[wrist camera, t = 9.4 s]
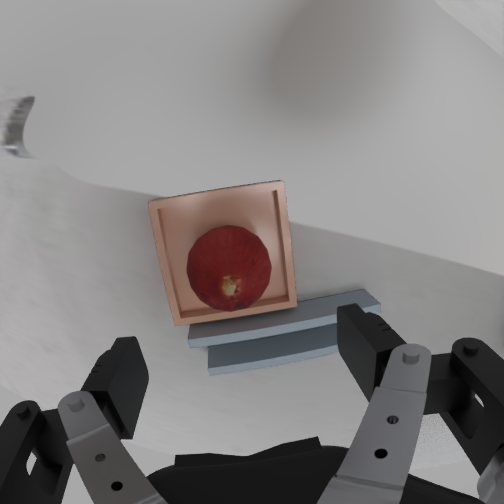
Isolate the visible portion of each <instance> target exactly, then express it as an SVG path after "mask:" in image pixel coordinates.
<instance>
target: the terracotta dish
mask: <svg viewBox="0 0 504 504" xmlns="http://www.w3.org/2000/svg"><path fill="white" fill-rule="evenodd" d="M148 206H149V212H150V217H151V222H152V227H153V233H154V238H155V242H156V247H157V252H158V257H159V261H160V266H161V270H162V275H163V279H164V283H165V288H166V292H167V296H168V300H169V304H170V308H171V312H172V316H173V320H174V323H175V326H178V325H186V324H193V323H200V322H207V321H214V320H221V319H227V318H234V317H240V316H246V315H252V314H258V313H264V312H270V311H275V310H281V309H287V308H292V307H297V297H296V286H295V276H294V265H293V256H292V246H291V237H290V227H289V219H288V210H287V201H286V193H285V186H284V181H281V180H277V181H269V182H261V183H254V184H248V185H240V186H233V187H227V188H220V189H215V190H208V191H202V192H196V193H190V194H184V195H178V196H173V197H167V198H162V199H156V200H152V201H150V202H148ZM225 225H232V226H239V227H244V228H245V229H247V230H249V231H250V232H252V233H254V234H255V235H257V236H259V238H260V239H261V241H262V242H263V244H264V245H265V247H266V248H267V250H268V254H269V258H270V261H271V265H272V270H271V276H270V282H269V285H268V286H267V288H266V290H265V291H264V293H263V295H262V296H261V298H259V299H258V300H257V301H256V302H255V303H253V304H252V305H251V306H250V307H248V308H246V309H242V310H237V311H233V312H227V311H221V310H215V309H213V308H211V307H209V306H208V305H206V304H205V303H203V302H202V301H200V300H199V298H198V297H197V296H196V294H195V293H194V291H193V290H192V289H191V287H190V283H189V280H188V276H187V273H186V268H187V260H188V253H189V251H190V249H191V248H192V246H193V245H194V243H195V242H196V240H197V239H198V238H199V237H201V236H202V235H204V234H205V233H207V232H208V231H210V230H211V229H213V228H217V227H221V226H225Z"/></svg>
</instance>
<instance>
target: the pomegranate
mask: <svg viewBox="0 0 504 504" xmlns="http://www.w3.org/2000/svg"><path fill="white" fill-rule="evenodd" d="M271 270H272V265H271V261H270V258H269V254H268V250H267V248H266V247H265V245H264V244H263V242H262V241H261V239H260V238H259V236H257V235H255V234H254V233H252V232H250V231H249V230H247V229H245V228H244V227H239V226H232V225H225V226H221V227H217V228H213V229H211V230H210V231H208V232H207V233H205V234H204V235H202V236H201V237H199V238H198V239H197V240H196V242H195V243H194V245H193V246H192V248H191V249H190V251H189V253H188V260H187V268H186V273H187V276H188V280H189V283H190V287H191V289H192V290H193V291H194V293H195V294H196V296H197V297H198V298H199V300H200V301H202V302H203V303H205V304H206V305H208V306H209V307H211V308H213V309H215V310H221V311H227V312H233V311H237V310H242V309H246V308H248V307H250V306H251V305H252V304H253V303H255V302H256V301H257V300H258V299H259V298H261V296H262V295H263V293H264V291H265V290H266V288H267V286H268V285H269V282H270V276H271Z"/></svg>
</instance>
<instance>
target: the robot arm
mask: <svg viewBox="0 0 504 504" xmlns="http://www.w3.org/2000/svg"><path fill="white" fill-rule="evenodd" d="M337 345H338V350H339V353H340V355H341V357H342V358H343V360H344V362H345V363H346V365H347V367H348V368H349V370H350V372H351V373H352V375H353V377H354V378H355V380H356V382H357V383H358V385H359V387H360V388H361V390H362V392H363V393H364V395H365V397H366V398H367V400H368V402H369V405H368V408H367V410H366V412H365V415H364V417H363V419H362V422H361V424H360V426H359V429H358V431H357V433H356V435H355V437H354V440H353V442H352V444H351V446H350V448H345V447H339V446H321V444H320V441H319V438H318V436H317V437H313V438H308V439H304V440H299V441H294V442H288V443H283V444H280V445H278V446H275V447H272V448H270V449H267V450H264V451H261V452H258V453H255V454H252V455H249V456H234V455H223V454H213V453H204V454H187V455H175V464H174V465H172V466H168V467H165V468H162V469H160V470H158V471H156V472H154V473H152V474H150V475H148V476H147V477H145V475H144V474H143V473H142V471H141V470H140V469H139V467H138V466H137V464H136V463H135V462H134V460H133V459H132V457H131V456H130V454H129V453H128V452H127V450H126V449H125V447H124V446H123V444H122V443H121V441H120V440H121V439H133V435H134V431H135V427H136V424H137V420H138V417H139V413H140V410H141V406H142V403H143V399H144V396H145V392H146V389H147V385H148V381H149V375H148V369H147V366H146V363H145V360H144V358H143V355H142V352H141V349H140V346H139V343H138V340H137V338H136V337H135V336H132V337H120V338H117V339H116V340H115V342H114V344H113V346H112V347H111V349H110V350H107V351H106V352H105V353H103V354H102V355H101V356H100V357H99V358H98V360H97V362H96V363H95V367H93V369H92V370H91V373H90V374H89V376H88V377H87V379H86V381H85V383H84V385H83V387H82V388H81V390H80V391H76V392H72V393H70V394H68V395H66V396H65V397H63V398H62V399H61V400H60V402H59V404H58V408H57V409H52V410H47V411H41V409H40V407H39V406H38V404H37V403H36V402H35V401H31V400H27V401H23V402H20V403H18V404H16V405H15V406H14V407H13V408H12V409H11V410H10V411H9V413H8V415H7V416H6V418H5V420H4V421H3V423H2V424H1V426H0V504H61V503H62V499H63V495H64V492H65V489H66V485H67V482H68V479H69V475H70V472H71V469H72V466H73V464H75V465H76V467H77V470H78V472H79V474H80V476H81V478H82V481H83V483H84V485H85V487H86V489H87V491H88V493H89V495H90V497H91V499H92V501H93V503H94V504H504V360H503V359H502V358H501V357H500V356H499V355H498V354H497V353H496V352H494V351H493V350H492V349H491V348H490V347H489V346H488V345H486V344H485V343H484V342H483V341H481V340H479V339H475V338H462V339H459V340H457V341H456V342H454V344H453V346H452V351H451V353H446V354H437V355H431V353H430V351H429V350H428V349H427V348H426V347H424V346H421V345H418V344H407V343H406V342H405V341H404V340H403V339H402V338H401V337H400V336H399V335H398V334H397V333H396V332H395V331H394V330H393V329H391V327H390V326H389V325H388V324H386V322H385V321H384V320H383V319H382V318H381V317H380V316H378V315H376V314H374V313H372V312H367V313H365V312H364V311H363V310H362V308H361V307H360V306H359V305H358V304H357V303H352V304H348V305H343V306H338V307H337ZM475 394H477V395H478V397H479V398H480V399H481V400H482V402H483V405H484V407H483V406H482V405H481V404H480V403H479V402H478V400H477V399H476V398H475ZM435 413H439V414H440V416H441V417H442V419H443V420H444V422H445V423H446V424H447V426H448V427H449V429H450V430H451V432H452V433H453V435H454V436H455V438H456V439H457V441H458V442H459V444H460V445H461V447H462V448H463V450H464V452H465V453H466V455H467V456H468V458H469V459H470V461H471V462H472V464H473V466H474V467H475V469H476V470H477V472H478V473H479V475H480V478H479V480H478V483H477V491H478V494H479V499H477V498H475V497H472V496H470V495H466V494H464V493H460V492H457V491H454V490H451V489H448V488H445V487H443V486H440V485H437V484H434V483H432V482H429V481H426V480H424V479H421V478H418V477H416V476H413V475H411V474H409V473H408V472H409V469H410V465H411V462H412V458H413V455H414V451H415V447H416V443H417V439H418V435H419V431H420V426H421V422H422V417H423V415H428V414H435ZM31 451H32V453H33V454H34V455H35V456H36V458H37V459H36V462H35V464H34V467H33V469H32V471H31V474H30V475H29V474H28V472H27V468H26V464H27V460H28V458H29V456H30V453H31Z"/></svg>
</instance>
